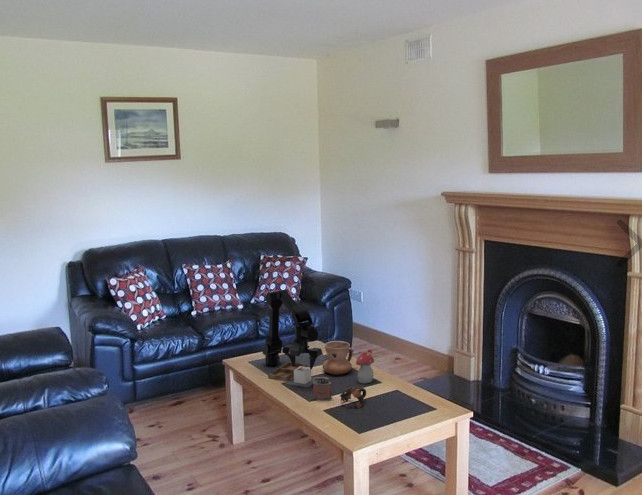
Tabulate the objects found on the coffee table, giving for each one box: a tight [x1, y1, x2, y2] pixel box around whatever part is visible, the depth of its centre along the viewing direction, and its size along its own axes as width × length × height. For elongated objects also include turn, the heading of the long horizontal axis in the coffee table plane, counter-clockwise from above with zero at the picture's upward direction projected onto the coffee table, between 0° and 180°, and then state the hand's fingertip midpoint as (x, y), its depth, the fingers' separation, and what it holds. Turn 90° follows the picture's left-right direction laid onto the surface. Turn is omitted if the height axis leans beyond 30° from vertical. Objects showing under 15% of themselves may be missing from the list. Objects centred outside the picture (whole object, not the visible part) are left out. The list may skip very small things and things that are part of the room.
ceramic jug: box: [321, 340, 354, 376], centre depth 298 cm, size 18×14×14 cm
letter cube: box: [293, 366, 312, 384], centre depth 285 cm, size 6×6×6 cm
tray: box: [267, 361, 308, 382], centre depth 297 cm, size 11×20×2 cm, turn 153°
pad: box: [285, 376, 317, 388], centre depth 286 cm, size 12×12×1 cm
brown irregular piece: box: [339, 386, 367, 409], centre depth 259 cm, size 12×10×8 cm
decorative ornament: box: [355, 349, 375, 385], centre depth 283 cm, size 9×6×15 cm
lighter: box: [312, 376, 333, 402], centre depth 264 cm, size 8×3×10 cm, turn 84°
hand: (302, 368), depth 285 cm, fingers open, 9 cm apart
